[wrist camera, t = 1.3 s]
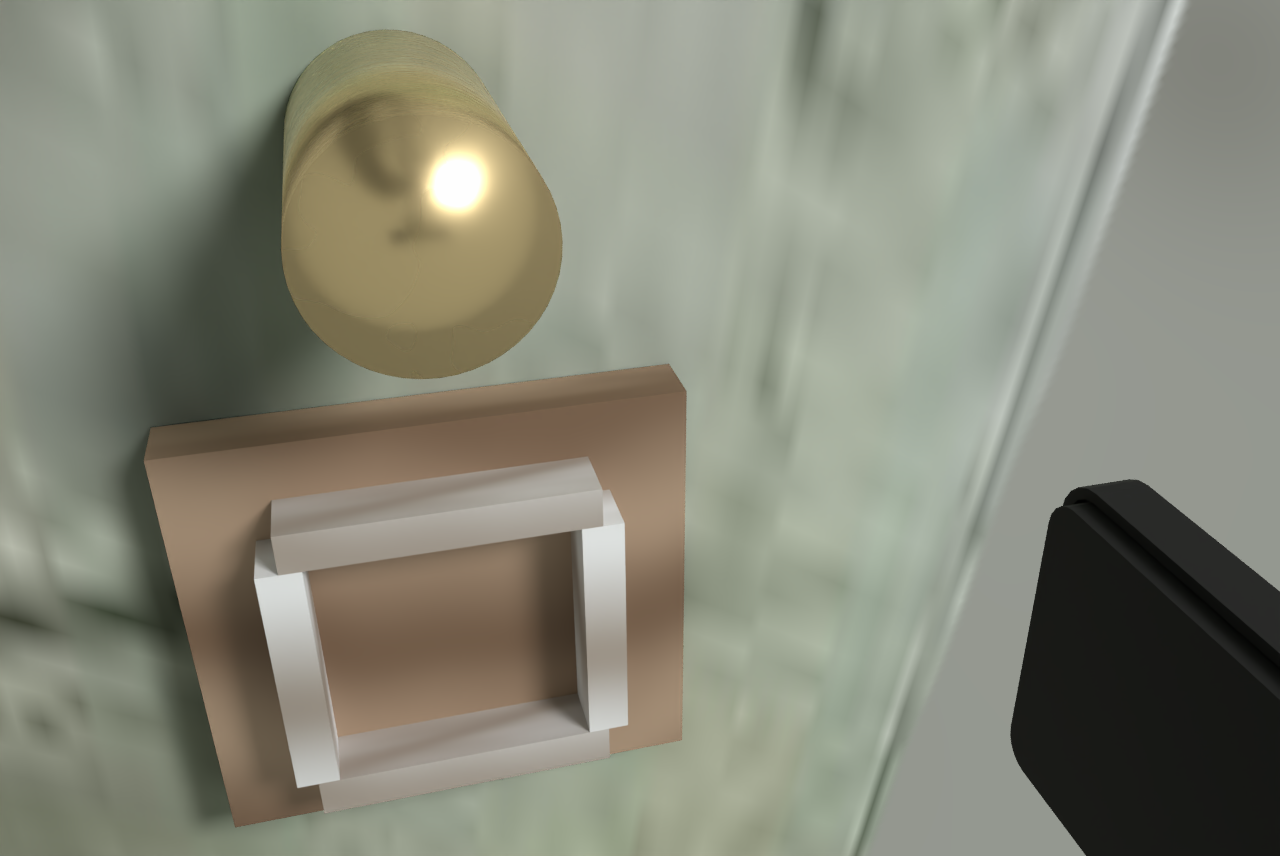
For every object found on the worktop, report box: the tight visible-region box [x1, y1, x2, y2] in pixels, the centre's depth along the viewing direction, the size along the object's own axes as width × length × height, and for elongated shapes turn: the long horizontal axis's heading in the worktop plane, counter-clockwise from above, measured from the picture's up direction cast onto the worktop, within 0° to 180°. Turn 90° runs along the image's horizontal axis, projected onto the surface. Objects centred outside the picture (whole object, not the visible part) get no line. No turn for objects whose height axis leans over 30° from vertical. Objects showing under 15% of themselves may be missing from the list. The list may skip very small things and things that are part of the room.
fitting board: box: [144, 364, 686, 827], centre depth 29 cm, size 11×12×3 cm
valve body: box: [281, 30, 562, 379], centre depth 22 cm, size 4×4×7 cm
